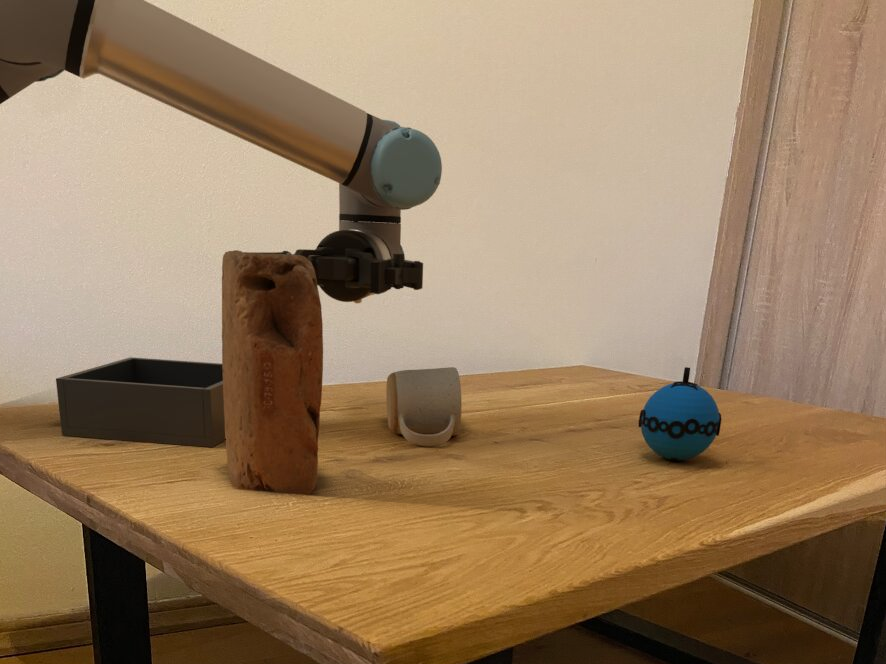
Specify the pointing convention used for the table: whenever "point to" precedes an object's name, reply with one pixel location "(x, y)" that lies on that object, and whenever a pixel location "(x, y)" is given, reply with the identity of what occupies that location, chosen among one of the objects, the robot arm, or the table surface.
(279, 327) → the block
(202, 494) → the table surface
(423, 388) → the ceramic mug
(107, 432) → the bin
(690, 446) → the ornament
